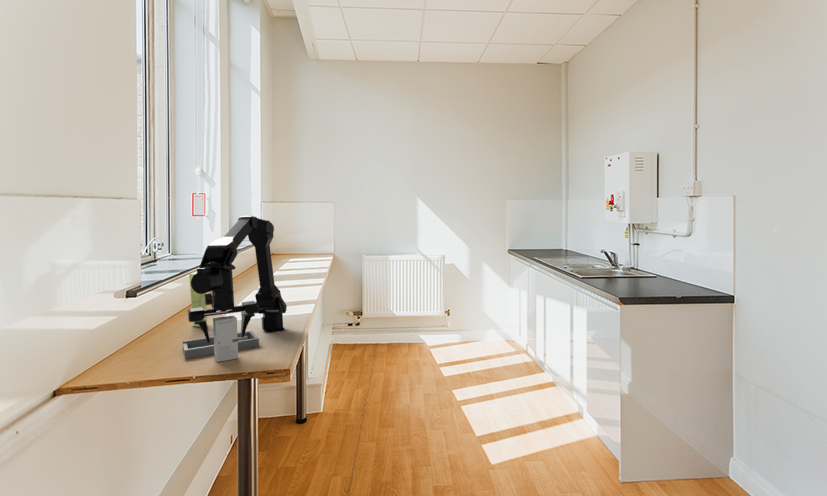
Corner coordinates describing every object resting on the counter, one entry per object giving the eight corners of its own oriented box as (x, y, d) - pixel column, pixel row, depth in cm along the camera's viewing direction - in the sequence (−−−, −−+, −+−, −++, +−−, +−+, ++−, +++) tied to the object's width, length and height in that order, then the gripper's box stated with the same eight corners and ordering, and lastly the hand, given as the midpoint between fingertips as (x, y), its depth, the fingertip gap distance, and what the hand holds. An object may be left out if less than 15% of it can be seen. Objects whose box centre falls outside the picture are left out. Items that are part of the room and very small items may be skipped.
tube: (208, 322, 173) (205, 272, 172) (209, 325, 169) (205, 274, 167) (192, 324, 171) (189, 273, 169) (192, 327, 166) (188, 275, 165)
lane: (252, 337, 152) (252, 330, 152) (259, 346, 143) (258, 338, 142) (183, 348, 142) (182, 341, 141) (185, 358, 132) (184, 350, 132)
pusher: (245, 338, 150) (244, 330, 149) (250, 345, 142) (249, 336, 142) (219, 343, 146) (218, 333, 145) (223, 349, 138) (222, 340, 138)
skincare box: (217, 362, 128) (214, 321, 127) (214, 358, 132) (211, 317, 131) (239, 358, 132) (237, 317, 130) (236, 354, 135) (233, 314, 134)
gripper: (250, 280, 141) (253, 328, 143) (184, 286, 132) (188, 338, 133) (258, 285, 132) (261, 337, 133) (187, 292, 122) (191, 348, 124)
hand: (225, 339), depth 131 cm, fingers open, 9 cm apart
